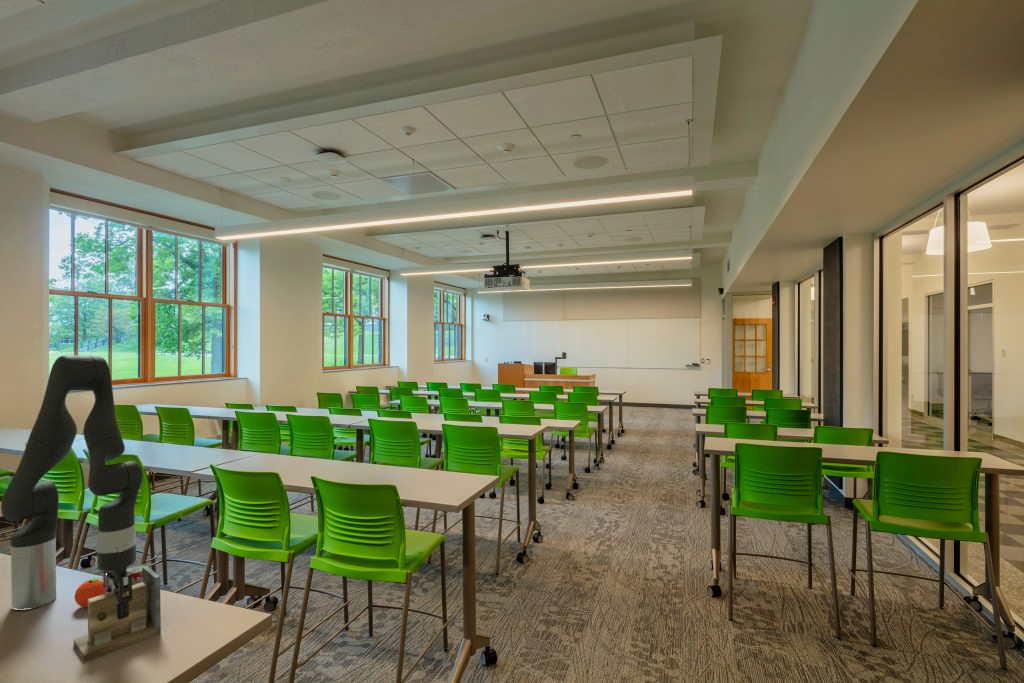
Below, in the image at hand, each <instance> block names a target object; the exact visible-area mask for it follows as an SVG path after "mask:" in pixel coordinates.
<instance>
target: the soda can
mask: <svg viewBox="0 0 1024 683" xmlns="http://www.w3.org/2000/svg"><path fill="white" fill-rule="evenodd" d="M144 566H148V567H149V565H148V564H146V563H139V564H132V565H129V566H128V567H127V568H126V569H127V572H128V571H129V575H131V576H132V585H135V584H138V583H142V582H143V578H142V567H144ZM149 568H150V567H149Z"/></svg>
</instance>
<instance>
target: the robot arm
mask: <svg viewBox="0 0 1024 683" xmlns="http://www.w3.org/2000/svg"><path fill="white" fill-rule="evenodd" d="M112 384H113V382H112V377H111V370H110V368H109V364H108V362H107V360H106V359H105V358H104V357H102V356H97V355H81V354H80V355H77V354H76V355H72V354H67V355H60V356H59V357H57V358H56V359H55V361H54V363H53V364H52V366H51V370H50V373H49V376H48V380H47V384H46V388H45V392H44V396H43V400H42V403H41V407H40V409H39V411H38V414H37V417H36V420H35V422H34V425H33V426H32V428H31V431H30V433H29V437H28V439H27V442H26V445H25V448H24V452H23V453H22V457H21V459H20V461H19V465H18V467H17V469H16V470H15V472H14V474H13V476H12V478H11V480H10V482H9V484H8V486H7V487H6V489H5V491H4V493H3V496H2V499H1V503H0V510H1V515H2V517H3V518H4V519H5V520H6V521H7V522H8V521H9V522H18V521H24V520H27V519H31V520H30V521H29V522H28V523H27V524H26V525H25V526H23V527H21V528H20V529H18V530H17V531H15V532H14V533H13V534H11V537H10V576H11V577H10V585H11V587H10V590H11V592H10V598H11V599H10V601H11V603H10V606H12V607H13V608H17V609H24V608H25V609H26V608H34V609H37V608H36V607H38V608H40V607H43V606H46V605H49V604H50V603H52V602H54V600H56V599H57V552H56V551H57V545H56V542H57V541H56V540H57V539H56V538H57V537H56V533H57V532H56V531H57V528H58V523H59V522H58V520H59V505H60V503H59V500H60V496H59V490H58V487H57V485H56V484H55V483H54V482H53V481H51V480H41V479H42V478H43V477H44V476H45V475H46V474H48V473H49V472H50V471H52V469H54V467H56V466H57V465H58V464H59V463H61V462H62V461H63V460H65V457H67V456H68V454H70V451H71V449H72V447H73V443H74V442H75V439H76V436H77V433H78V429H77V428H78V427H77V424H76V422H75V420H74V419H73V416H72V414H70V411H69V410H68V408H67V406H66V398H67V396H68V394H69V393H70V392H73V391H75V392H77V391H78V392H79V391H81V392H83V391H85V392H86V391H92V393H93V395H94V403H93V407H92V409H91V410H90V412H89V413H88V416H87V418H86V419H85V422H84V425H83V438H84V441H85V443H86V447H87V451H88V454H89V472H88V473H89V474H88V482H87V483H88V484H87V485H88V489H89V491H90V492H91V493H92V494H93V495H95V496H98V497H102V496H103V497H104V496H109V495H113V494H118V493H120V494H119V495H118V497H117V498H115V499H113V500H112V501H109V502H107V503H105V504H103V505H102V506H101V505H100V507H99V509H98V513H97V514H98V515H97V517H98V519H97V520H98V521H97V522H98V523H97V524H98V527H97V528H98V533H97V542H96V544H97V547H96V548H97V549H96V550H97V551H96V552H97V555H96V556H97V557H96V558H97V562H96V563H97V570H99V571H101V572H102V571H103V572H102V573H103V575H102V576H103V577H102V578H103V579H102V581H103V586H104V588H105V587H106V588H105V591H106V593H109V592H112V595H113V596H115V597H116V603H117V618H118V619H119V620H120V619H123V618H126V617H128V616H129V601H131V600H132V599H133V596H132V576H131V575H129V571H128V572H127V569H126V568H127V567H130V566H132V565H134V563H135V562H136V561H137V533H136V532H137V531H136V525H135V507H136V502H137V498H138V495H139V492H140V488H141V486H142V483H143V477H144V471H143V468H142V466H141V465H140V464H139V462H137V461H134V460H129V461H123V462H118V463H112V464H106V463H107V462H110V461H112V460H114V459H117V458H119V457H121V456H122V455H123V454H124V452H125V450H126V448H125V443H124V439H123V437H122V435H121V434H122V433H121V430H120V428H119V425H118V422H117V421H118V420H117V417H116V411H115V410H116V409H115V401H114V392H113V385H112ZM40 480H41V481H40ZM123 593H125V594H126V597H123V598H122V594H123Z"/></svg>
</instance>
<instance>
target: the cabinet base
mask: <svg viewBox="0 0 1024 683" xmlns="http://www.w3.org/2000/svg"><path fill="white" fill-rule="evenodd" d="M148 566H149V565H148ZM148 566H144V567H142V578H143V583H144V584H145V585H146V618H145V617H143V618H140V619H137V620H135V621H132V622H130V631H128V632H126V633H123V634H120V635H117V636H115V637H112V638H111V630H110V629H109V630H106V631H103V632H101V633H98V634H95V635H94V644H93V645H91V644H90V643H89V642H88V634H85V635H82V636H80V637H76V638H73V647H74V648H75V650H76V651H77V653H78V655H79V656H80V658H81V660H82V661H83V662H84V663H85V662H87V661H90V660H93V659H95V658H98V657H101V656H104V655H106V654H109V653H112V652H114V651H116V650H119V649H122V648H125V647H127V646H129V644H130V645H132V644H135V643H137V641H138V642H141V641H143V640H145V638H146V639H147V638H148V639H149V638H150V636H151V637H153V636H156V635H159V634H161V633H162V628H161V626H162V625H161V623H162V621H161V618H162V617H161V576H160V574H158V573H157V572H156V571H154V570H153V569H151V568H150V567H148ZM142 639H143V640H142ZM134 642H135V643H134ZM126 645H127V646H126ZM124 646H125V647H124Z"/></svg>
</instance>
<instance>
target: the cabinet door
mask: <svg viewBox="0 0 1024 683" xmlns="http://www.w3.org/2000/svg"><path fill="white" fill-rule="evenodd" d="M132 596H133V599H132V600H131V601H129V616H128V617H126V618H123V619H120V620H119V619H118V618H117V603H116V597H115V596H113V595H112V592H109V593H107V592H106V594H103V595H100V596H96V597H93V598H90V599H88V607H87V635H88V642H89V643H90V644H91V645H93V644H94V635H95V634H98V633H101V632H103V631H106V630H109V629H110V630H111V638H112V637H115V636H117V635H120V634H123V633H126V632H128V631H130V622H132V621H135V620H137V619H140V618H143V617H145V618H146V585H145V584H144V583H143V582H142V583H138V584H135V585H132ZM123 597H126V594H125V593H123V594H122V598H123Z"/></svg>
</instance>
